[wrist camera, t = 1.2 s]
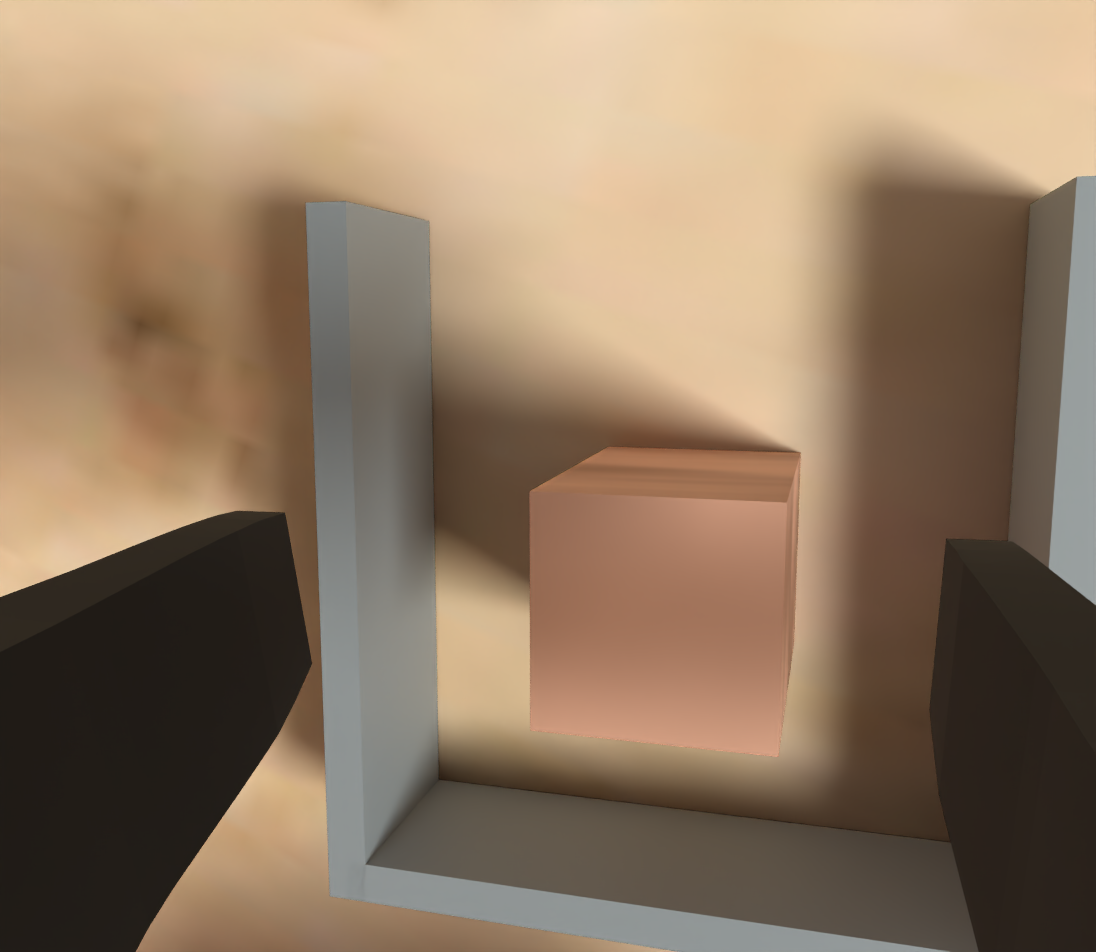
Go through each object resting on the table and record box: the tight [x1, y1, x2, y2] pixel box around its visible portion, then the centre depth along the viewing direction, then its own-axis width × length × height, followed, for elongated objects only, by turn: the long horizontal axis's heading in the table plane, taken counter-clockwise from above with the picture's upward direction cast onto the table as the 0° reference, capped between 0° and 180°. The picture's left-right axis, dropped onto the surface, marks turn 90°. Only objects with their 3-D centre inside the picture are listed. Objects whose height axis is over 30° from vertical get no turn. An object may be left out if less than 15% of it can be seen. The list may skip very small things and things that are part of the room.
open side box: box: [306, 176, 1096, 952], centre depth 20 cm, size 14×14×4 cm
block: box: [529, 447, 801, 757], centre depth 19 cm, size 4×4×6 cm
